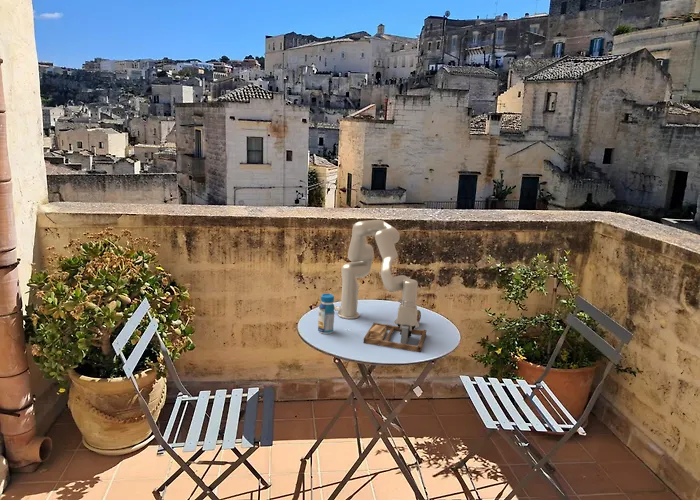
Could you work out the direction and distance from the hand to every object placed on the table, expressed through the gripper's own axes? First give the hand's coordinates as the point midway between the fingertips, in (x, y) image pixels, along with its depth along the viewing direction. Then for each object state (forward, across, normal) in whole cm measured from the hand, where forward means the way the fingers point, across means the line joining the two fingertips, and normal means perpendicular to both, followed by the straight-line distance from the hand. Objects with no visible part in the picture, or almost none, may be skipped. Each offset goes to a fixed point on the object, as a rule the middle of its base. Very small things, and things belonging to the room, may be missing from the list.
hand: (405, 336), depth 282 cm
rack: (+2, -5, 0) cm, 6 cm away
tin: (+3, 0, +24) cm, 24 cm away
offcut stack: (+3, -15, 0) cm, 15 cm away
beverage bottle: (+2, -42, -5) cm, 42 cm away
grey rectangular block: (+2, 0, 0) cm, 2 cm away
